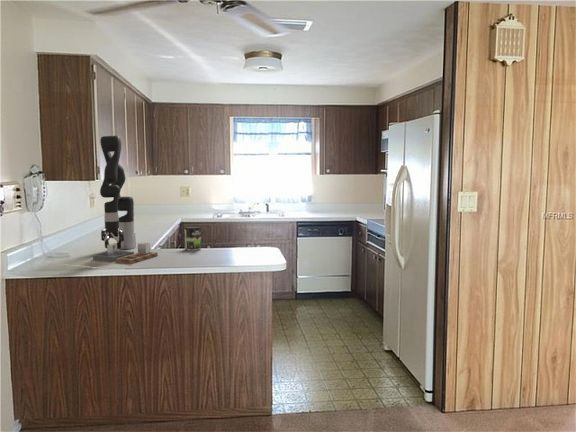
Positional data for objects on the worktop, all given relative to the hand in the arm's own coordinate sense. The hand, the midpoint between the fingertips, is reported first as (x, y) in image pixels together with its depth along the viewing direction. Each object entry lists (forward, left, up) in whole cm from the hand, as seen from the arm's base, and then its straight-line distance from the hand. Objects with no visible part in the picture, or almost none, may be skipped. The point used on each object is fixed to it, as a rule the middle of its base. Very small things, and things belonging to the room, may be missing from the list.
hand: (113, 248), depth 269 cm
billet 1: (0, 0, -6) cm, 6 cm away
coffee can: (-43, +25, -7) cm, 50 cm away
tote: (0, 0, -6) cm, 6 cm away
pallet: (-2, +15, -6) cm, 16 cm away
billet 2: (-8, +15, -5) cm, 18 cm away
